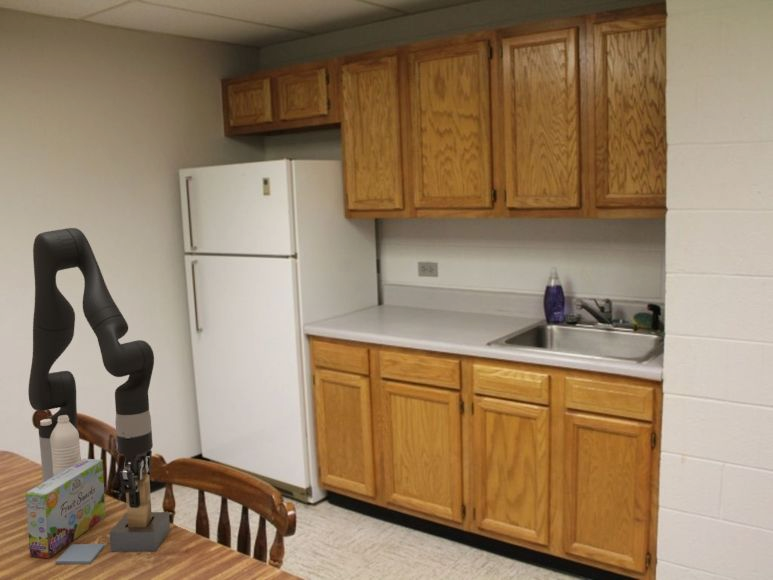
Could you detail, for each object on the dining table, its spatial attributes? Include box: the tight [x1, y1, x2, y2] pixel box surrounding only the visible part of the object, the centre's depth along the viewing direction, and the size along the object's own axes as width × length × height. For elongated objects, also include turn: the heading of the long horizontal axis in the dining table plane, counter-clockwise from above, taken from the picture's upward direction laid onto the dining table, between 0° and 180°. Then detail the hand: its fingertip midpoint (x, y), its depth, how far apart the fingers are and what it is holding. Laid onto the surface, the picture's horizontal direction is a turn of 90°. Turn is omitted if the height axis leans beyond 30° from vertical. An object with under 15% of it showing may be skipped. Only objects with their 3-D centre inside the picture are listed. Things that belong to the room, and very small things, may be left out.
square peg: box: [125, 475, 152, 527], centre depth 162 cm, size 4×4×11 cm
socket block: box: [109, 511, 171, 553], centre depth 163 cm, size 10×10×4 cm
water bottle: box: [39, 415, 82, 476], centre depth 176 cm, size 9×6×25 cm
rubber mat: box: [55, 543, 106, 565], centre depth 157 cm, size 8×8×1 cm
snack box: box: [25, 458, 106, 559], centre depth 166 cm, size 21×6×15 cm, turn 168°
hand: (138, 502), depth 162 cm, fingers closed on square peg, 4 cm apart
